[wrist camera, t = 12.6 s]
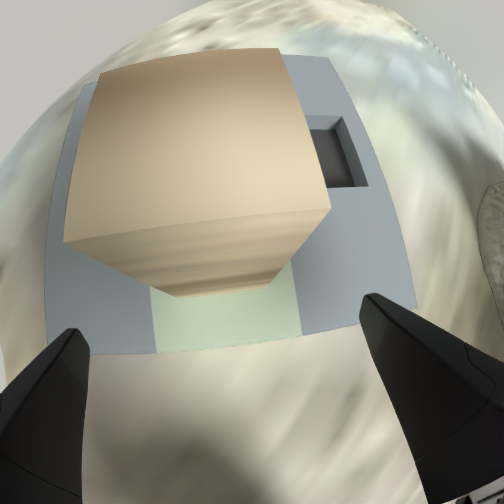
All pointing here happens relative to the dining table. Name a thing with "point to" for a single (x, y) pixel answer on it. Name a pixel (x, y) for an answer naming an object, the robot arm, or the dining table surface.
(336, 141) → the board
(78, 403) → the robot arm
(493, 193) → the grey rough lump
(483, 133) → the dining table surface
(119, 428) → the dining table surface
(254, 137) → the beech post
